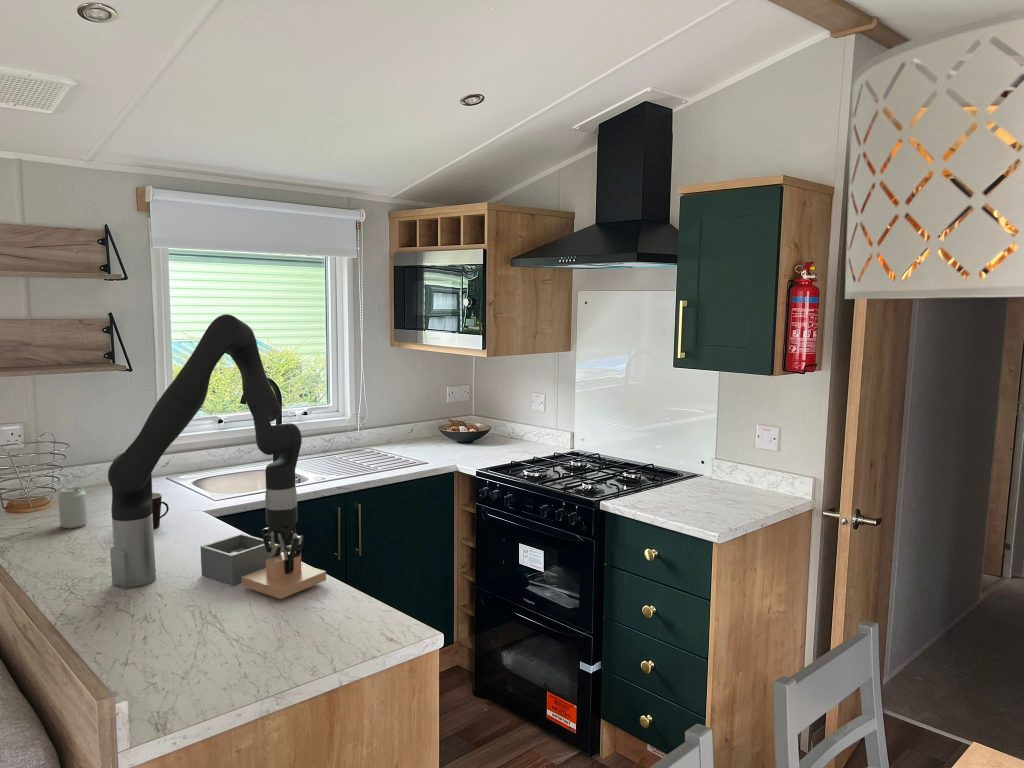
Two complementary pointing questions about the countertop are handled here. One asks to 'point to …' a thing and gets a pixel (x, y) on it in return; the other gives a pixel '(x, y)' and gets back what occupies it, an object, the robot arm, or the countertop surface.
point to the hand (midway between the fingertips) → (283, 571)
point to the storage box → (233, 558)
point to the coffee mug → (157, 509)
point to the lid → (283, 578)
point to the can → (72, 507)
